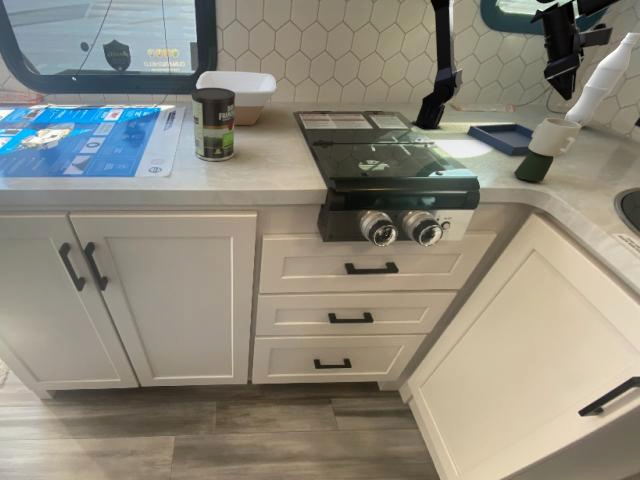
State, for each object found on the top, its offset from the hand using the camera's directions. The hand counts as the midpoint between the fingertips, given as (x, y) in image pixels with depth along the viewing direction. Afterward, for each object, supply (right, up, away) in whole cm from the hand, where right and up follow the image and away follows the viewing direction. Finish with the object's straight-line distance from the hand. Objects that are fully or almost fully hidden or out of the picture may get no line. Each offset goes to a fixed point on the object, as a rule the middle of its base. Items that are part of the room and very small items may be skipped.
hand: (570, 96), depth 88 cm
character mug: (-14, -22, -3) cm, 26 cm away
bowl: (-86, +6, +23) cm, 90 cm away
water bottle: (+29, +7, +30) cm, 42 cm away
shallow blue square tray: (-3, -5, +15) cm, 16 cm away
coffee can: (-92, -14, +2) cm, 93 cm away
